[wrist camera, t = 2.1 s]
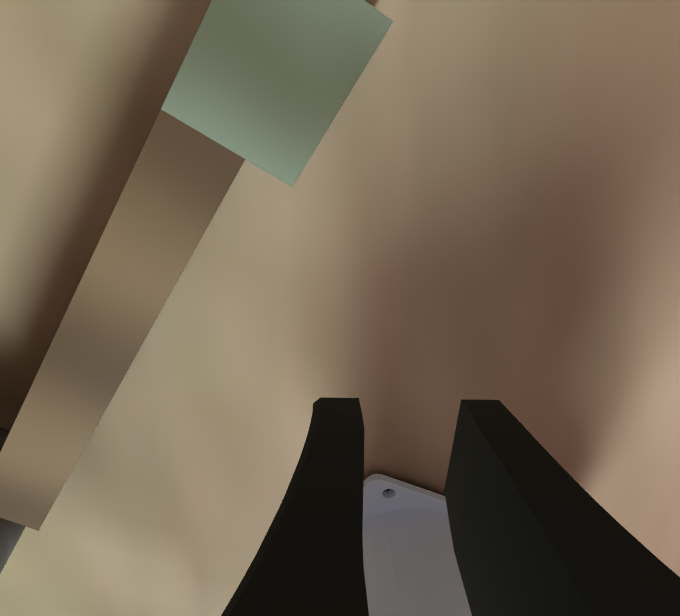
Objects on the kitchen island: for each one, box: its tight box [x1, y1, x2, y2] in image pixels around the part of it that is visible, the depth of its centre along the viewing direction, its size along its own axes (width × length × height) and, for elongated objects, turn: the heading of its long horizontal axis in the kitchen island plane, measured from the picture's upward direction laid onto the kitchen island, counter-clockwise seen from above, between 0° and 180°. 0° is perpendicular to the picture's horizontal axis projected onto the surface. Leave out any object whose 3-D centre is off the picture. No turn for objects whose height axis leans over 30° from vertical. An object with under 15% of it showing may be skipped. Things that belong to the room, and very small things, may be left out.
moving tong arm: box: [0, 0, 393, 530], centre depth 16 cm, size 18×3×4 cm, turn 147°
